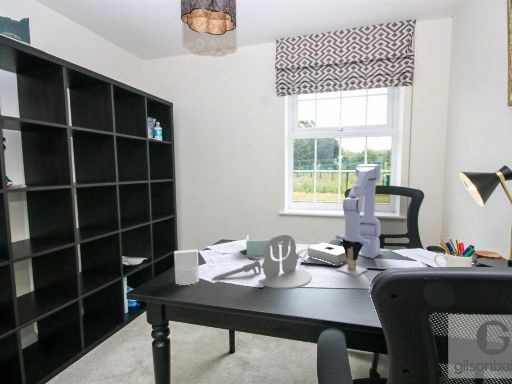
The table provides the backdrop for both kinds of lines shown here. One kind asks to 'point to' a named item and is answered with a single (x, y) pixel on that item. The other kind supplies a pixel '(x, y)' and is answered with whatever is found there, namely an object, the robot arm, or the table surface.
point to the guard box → (328, 253)
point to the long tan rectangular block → (351, 260)
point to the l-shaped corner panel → (256, 246)
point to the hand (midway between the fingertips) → (352, 258)
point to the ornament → (283, 265)
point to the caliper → (241, 270)
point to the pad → (350, 272)
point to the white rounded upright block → (186, 267)
